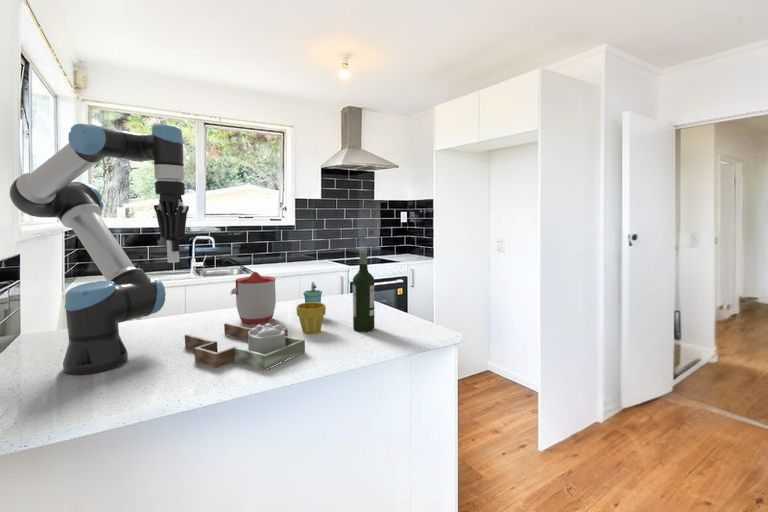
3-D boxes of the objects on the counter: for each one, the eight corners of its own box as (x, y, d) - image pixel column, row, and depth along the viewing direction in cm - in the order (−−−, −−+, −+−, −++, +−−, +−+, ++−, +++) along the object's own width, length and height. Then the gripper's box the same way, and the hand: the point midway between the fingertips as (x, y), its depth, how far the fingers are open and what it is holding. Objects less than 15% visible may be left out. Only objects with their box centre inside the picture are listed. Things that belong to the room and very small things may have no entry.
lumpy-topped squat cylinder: (253, 363, 116) (252, 334, 115) (245, 349, 127) (243, 323, 126) (289, 356, 121) (288, 329, 120) (277, 344, 133) (276, 319, 132)
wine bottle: (377, 330, 147) (377, 249, 144) (357, 333, 144) (356, 250, 141) (370, 325, 154) (369, 247, 151) (350, 327, 151) (349, 248, 148)
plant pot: (319, 336, 141) (319, 309, 140) (292, 334, 143) (291, 307, 142) (329, 328, 151) (329, 302, 150) (304, 326, 153) (303, 301, 152)
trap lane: (167, 352, 125) (166, 340, 124) (240, 329, 149) (240, 319, 148) (248, 377, 106) (247, 363, 106) (317, 346, 130) (317, 335, 129)
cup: (325, 321, 160) (325, 284, 159) (306, 322, 158) (305, 285, 156) (320, 312, 173) (319, 278, 172) (302, 314, 171) (301, 279, 169)
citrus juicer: (230, 318, 164) (227, 270, 162) (273, 314, 171) (271, 267, 169) (233, 328, 150) (230, 276, 148) (280, 323, 157) (278, 273, 155)
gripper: (196, 181, 115) (199, 262, 118) (168, 182, 122) (171, 259, 124) (171, 179, 109) (175, 265, 112) (143, 180, 115) (147, 261, 118)
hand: (173, 262), depth 118 cm, fingers closed
